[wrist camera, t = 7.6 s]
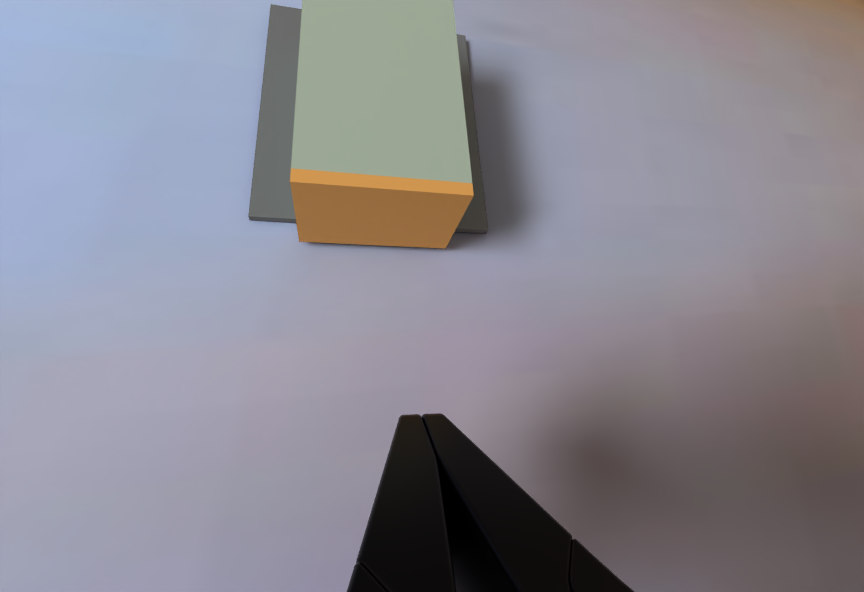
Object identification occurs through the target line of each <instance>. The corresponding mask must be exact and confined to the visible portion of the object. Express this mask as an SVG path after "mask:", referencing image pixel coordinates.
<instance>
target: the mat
mask: <svg viewBox="0 0 864 592" xmlns="http://www.w3.org/2000/svg"><path fill="white" fill-rule="evenodd" d="M301 14H302V9H297V8H290V7H284V6H278V5H272V4H271V8H270V17H269V27H268V36H267V46H266V55H265V65H264V74H263V84H262V93H261V103H260V112H259V122H258V131H257V141H256V150H255V160H254V169H253V179H252V188H251V198H250V207H249V219H250V220H255V221H273V222H291V223H296V217H295V211H294V204H293V198H292V191H291V185H290V174H291V160H292V145H293V131H294V116H295V102H296V87H297V72H298V58H299V43H300V29H301ZM456 35H457V44H458V54H459V63H460V72H461V82H462V91H463V100H464V110H465V119H466V128H467V138H468V147H469V156H470V166H471V175H472V184H473V193H474V196H473V198H472V200H471V202H470V204H469V205H468V207H467V209H466V211H465V213H464V215H463V217H462V219H461V220H460V222H459V224H458V226H457V228H456V230H455V232H470V233H486V232H487V231H488V226H487V218H486V209H485V201H484V192H483V184H482V175H481V167H480V158H479V149H478V141H477V132H476V124H475V115H474V107H473V98H472V90H471V81H470V73H469V64H468V55H467V47H466V38H465V36H464V35H458V34H456Z"/></svg>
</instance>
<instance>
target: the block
mask: <svg viewBox="0 0 864 592" xmlns="http://www.w3.org/2000/svg"><path fill="white" fill-rule="evenodd" d="M290 185H291V191H292V198H293V204H294V211H295V217H296V224H297V230H298V236H299V242H318V243H339V244H361V245H382V246H403V247H425V248H446V247H447V245H448V243H449V241H450V239H451V237H452V235H453V234H454V232H455V230H456V228H457V226H458V224H459V222H460V220H461V219H462V217H463V215H464V213H465V211H466V209H467V207H468V205H469V204H470V202H471V200H472V198H473V196H474V193H473V184H472V175H471V166H470V156H469V147H468V138H467V128H466V119H465V110H464V100H463V91H462V82H461V72H460V63H459V54H458V44H457V35H456V26H455V16H454V7H453V0H302V14H301V29H300V43H299V58H298V72H297V87H296V102H295V116H294V131H293V145H292V160H291V174H290Z"/></svg>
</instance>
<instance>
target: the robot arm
mask: <svg viewBox="0 0 864 592" xmlns="http://www.w3.org/2000/svg"><path fill="white" fill-rule="evenodd" d="M347 592H634V591H633V590H632V589H630V588H629V587H628V586H627V585H626V584H624V583H623V582H622V581H621V580H620V579H619V578H618V577H617V576H615V575H614V574H613V573H612V572H611V571H610V570H609V569H608V568H607V567H606V566H604V565H603V564H602V563H601V562H600V561H599V560H598V559H597V558H596V557H594V556H593V555H592V554H591V553H590V552H589V551H588V550H587V549H586V548H585V547H584V546H583V545H582V544H581V543H580V542H578V541H577V540H576V539H572V536H571V534H570V533H569V532H568V531H567V530H565V529H564V528H563V527H562V526H561V525H560V524H559V523H558V522H557V521H556V520H555V519H554V518H553V517H552V516H551V515H550V514H548V513H547V512H546V511H545V510H544V509H543V508H542V507H541V506H540V505H539V504H538V503H537V502H536V501H535V500H534V499H533V498H531V497H530V496H529V495H528V494H527V493H526V492H525V491H524V490H523V489H522V488H521V487H520V486H519V485H518V484H517V483H516V482H514V481H513V480H512V479H511V478H510V477H509V476H508V475H507V474H506V473H505V472H504V471H503V470H502V469H501V468H500V467H499V466H497V465H496V464H495V463H494V462H493V461H492V460H491V459H490V458H489V457H488V456H487V455H486V454H485V453H484V452H483V451H482V450H480V449H479V448H478V447H477V446H476V445H475V444H474V443H473V442H472V441H471V440H470V439H469V438H468V437H467V436H466V435H465V434H463V433H462V432H461V431H460V430H459V429H458V428H457V427H456V426H455V425H454V424H453V423H452V422H451V421H450V420H449V419H448V418H446V417H445V416H444V415H443V414H439V413H438V414H424V415H422V417H421V416H420V415H418V414H413V415H401V416H400V417H399V420H398V424H397V427H396V430H395V434H394V437H393V440H392V444H391V447H390V450H389V454H388V457H387V460H386V464H385V467H384V470H383V474H382V477H381V480H380V484H379V487H378V490H377V494H376V497H375V500H374V504H373V507H372V511H371V514H370V517H369V521H368V524H367V527H366V531H365V534H364V537H363V541H362V544H361V547H360V551H359V554H358V557H357V561H356V565H355V566H354V570H353V573H352V576H351V580H350V583H349V586H348V590H347Z"/></svg>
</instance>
